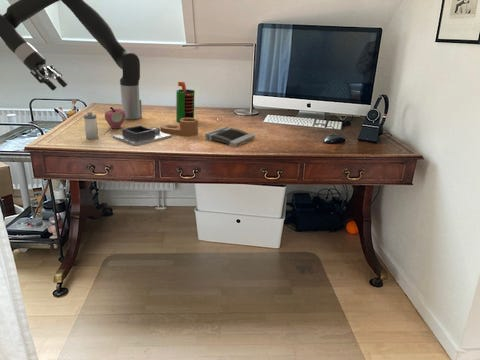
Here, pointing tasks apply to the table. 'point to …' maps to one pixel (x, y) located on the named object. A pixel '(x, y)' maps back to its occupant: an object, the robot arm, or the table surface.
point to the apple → (115, 117)
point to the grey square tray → (229, 136)
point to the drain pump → (91, 126)
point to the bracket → (182, 127)
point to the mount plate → (141, 135)
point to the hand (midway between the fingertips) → (60, 87)
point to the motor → (184, 102)
